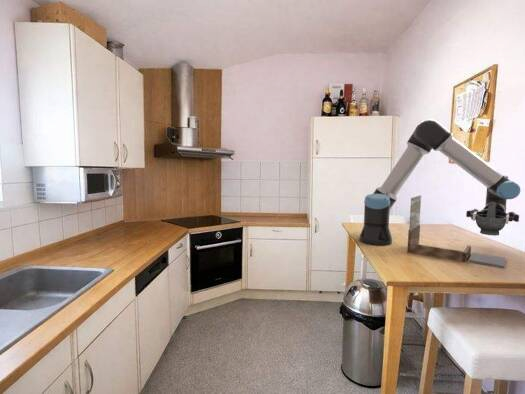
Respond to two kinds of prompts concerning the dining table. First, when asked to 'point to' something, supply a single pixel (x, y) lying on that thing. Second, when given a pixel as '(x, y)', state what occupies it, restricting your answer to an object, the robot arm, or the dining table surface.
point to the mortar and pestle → (490, 221)
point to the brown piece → (424, 249)
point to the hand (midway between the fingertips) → (490, 218)
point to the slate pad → (487, 260)
